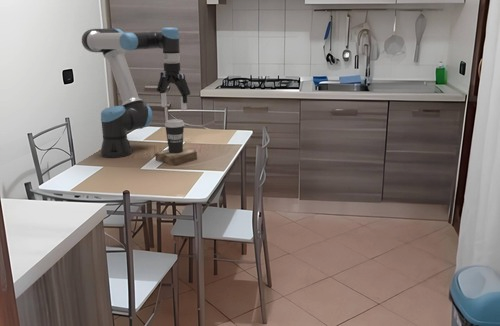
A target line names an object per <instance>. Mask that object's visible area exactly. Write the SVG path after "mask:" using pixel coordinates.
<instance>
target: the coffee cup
mask: <svg viewBox="0 0 500 326" xmlns="http://www.w3.org/2000/svg"><path fill="white" fill-rule="evenodd" d="M163 126H164V128H165V132H166V141H167V147H168V148H167V149H169V152H170V153H181V152H183V148H184V127H185V122H184V120H183V119H179V118H178V119H177V118H174V119H168V120H165V123H164V125H163Z"/></svg>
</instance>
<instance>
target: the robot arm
mask: <svg viewBox="0 0 500 326" xmlns="http://www.w3.org/2000/svg"><path fill="white" fill-rule="evenodd" d="M179 33H180V32H179V29H178V28H177V27H162V28H161V31H155V30H153V31H143V32H141V31H140V32H139V31H135V32H130V31H129V32H124V31H123V30H121V29H119V28H114V27H110V28H91V29H87V30H86V31H85V32H83V34H82V36H81V45H82V47H83V48H84V49H85V50H87V51H88V52H90V53H102V55H103V58H104V59H106V60H107V61H108V63H109V66H110V69H111V73H112V75H113V78H114V80H115V81H114V82H115V83H116V86H117V90H118V93H119V95H120V100H121V101H122V104H121V105H114V106H109V107H105V108H104V109H102V111H101V112H100V122H101V131H102V132H101V133H102V143H101V148H100V156H101V157H104V158H121V157H126V156H129V155H131V154H132V152H133V150H132V147H131V144H130V141H129V138H128V132H129V131H133V130H134V131H135V130H139V129H144V128H147V127H149V126H150V125H151V124H152V121H153V111H152V108H151V107H150V106H149V105H148V104H145V103H144V100H143V99H142V98H140V97H139V94H138V90H137V88H136V86H135V83H134V79H133V77H132V73H131V71H130V67H129V65H128V62H127V59H126V55H125V54H126V52H127V51H137V50H150V49H151V50H153V49H160V50H161V49H162V55H163V56H162V57H163V58H162V59H163V62H164V63H163V71H162V72H160V74H159V75H160V78H159V80H158V84H157V87H156V91H157V92H158V93H159V95H160V103H161V108H165V107H168V102H167V101H168V100H167V92H166V91H167V89H168V88H169V86H170V84H174V85H175V86H176V88H177V89H178V91H179V94H180V109H181V110H180V111H183V112H184V111H186V110H187V108H188V106H187V103H188V96H190V95H191V91H190V88H189V86H188V82H187V80H186V75H185V74H184V73H181V74H180V71H181V63H180V61H181V56H180V55H181V53H180V52H181V51H180V34H179Z"/></svg>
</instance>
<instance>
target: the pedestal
mask: <svg viewBox="0 0 500 326" xmlns="http://www.w3.org/2000/svg"><path fill="white" fill-rule="evenodd" d="M154 156H155V161H157V162H161V163H164V164H168V165H172V166H179V165H183V164H186V163H188V162H192V161H194V160H198V153H197V151H195V150H193V149H188V148H184V147H183V152H181V153H170V152H169V148H167V149H164V150H161V151H156V153H155V155H154Z"/></svg>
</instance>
